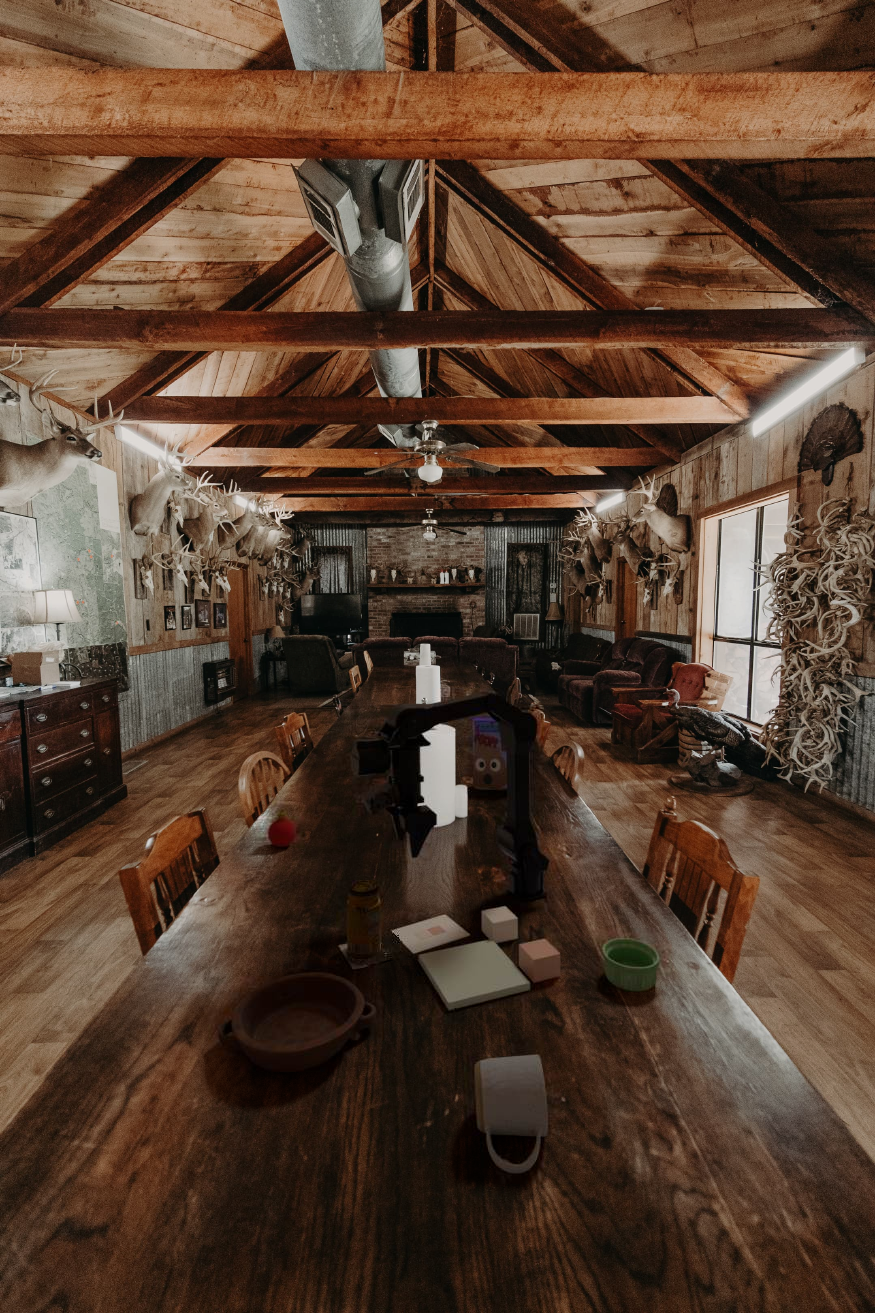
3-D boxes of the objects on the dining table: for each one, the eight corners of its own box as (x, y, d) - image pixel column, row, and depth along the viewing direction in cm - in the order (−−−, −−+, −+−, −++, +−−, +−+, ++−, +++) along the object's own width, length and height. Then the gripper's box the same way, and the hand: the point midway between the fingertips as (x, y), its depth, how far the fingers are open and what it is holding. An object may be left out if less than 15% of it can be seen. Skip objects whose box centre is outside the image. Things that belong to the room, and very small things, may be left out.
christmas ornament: (292, 851, 155) (291, 812, 155) (264, 851, 155) (263, 812, 155) (299, 841, 162) (298, 804, 162) (272, 841, 163) (271, 804, 162)
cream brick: (505, 926, 118) (505, 906, 117) (517, 939, 113) (517, 918, 113) (481, 931, 116) (481, 910, 116) (493, 944, 111) (493, 923, 111)
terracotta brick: (544, 961, 106) (544, 938, 106) (560, 977, 101) (560, 953, 101) (519, 967, 104) (519, 944, 104) (533, 983, 99) (533, 960, 99)
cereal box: (473, 790, 208) (472, 720, 206) (474, 786, 212) (474, 717, 211) (524, 792, 205) (524, 721, 203) (525, 788, 209) (525, 718, 208)
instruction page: (445, 915, 122) (445, 914, 122) (470, 935, 114) (470, 934, 114) (390, 931, 116) (390, 930, 116) (413, 954, 108) (413, 953, 108)
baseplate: (491, 945, 111) (491, 939, 111) (530, 989, 98) (530, 982, 97) (418, 961, 106) (418, 955, 106) (448, 1010, 93) (448, 1003, 93)
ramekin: (630, 1001, 95) (630, 974, 94) (590, 971, 103) (590, 946, 102) (671, 984, 99) (671, 958, 98) (630, 957, 107) (630, 933, 106)
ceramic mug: (473, 1099, 76) (472, 1041, 75) (539, 1098, 76) (539, 1040, 75) (478, 1179, 65) (478, 1113, 65) (555, 1179, 65) (555, 1112, 64)
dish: (384, 1071, 81) (384, 1035, 80) (208, 1102, 76) (207, 1064, 76) (370, 992, 98) (369, 962, 97) (225, 1013, 93) (224, 981, 93)
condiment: (376, 937, 114) (375, 874, 113) (393, 960, 106) (392, 893, 105) (338, 947, 111) (336, 882, 110) (353, 971, 103) (351, 902, 102)
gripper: (354, 763, 124) (356, 838, 125) (377, 787, 107) (379, 874, 108) (406, 757, 128) (408, 830, 129) (437, 780, 110) (438, 864, 111)
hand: (407, 848), depth 119 cm, fingers open, 9 cm apart
